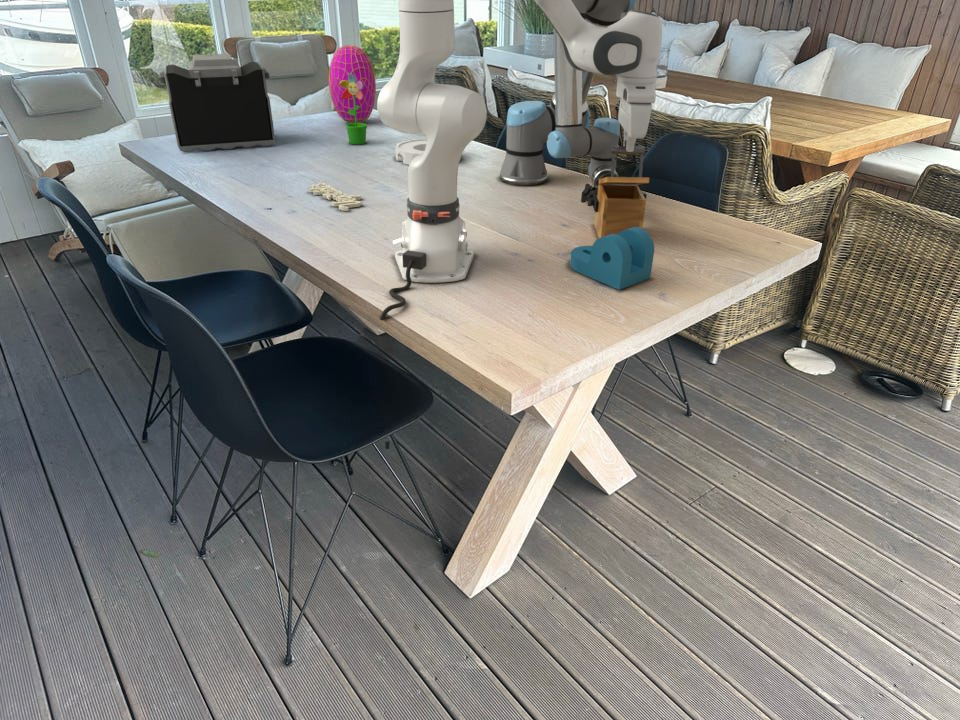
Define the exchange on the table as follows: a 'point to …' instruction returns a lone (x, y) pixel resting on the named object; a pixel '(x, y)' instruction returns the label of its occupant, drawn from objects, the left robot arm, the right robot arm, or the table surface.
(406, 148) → the ashtray
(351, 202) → the decorative sign
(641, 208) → the chest
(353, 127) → the potted flower
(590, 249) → the blue clevis bracket
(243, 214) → the table surface
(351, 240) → the table surface
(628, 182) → the lid
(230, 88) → the electronic device
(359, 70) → the decorative egg
